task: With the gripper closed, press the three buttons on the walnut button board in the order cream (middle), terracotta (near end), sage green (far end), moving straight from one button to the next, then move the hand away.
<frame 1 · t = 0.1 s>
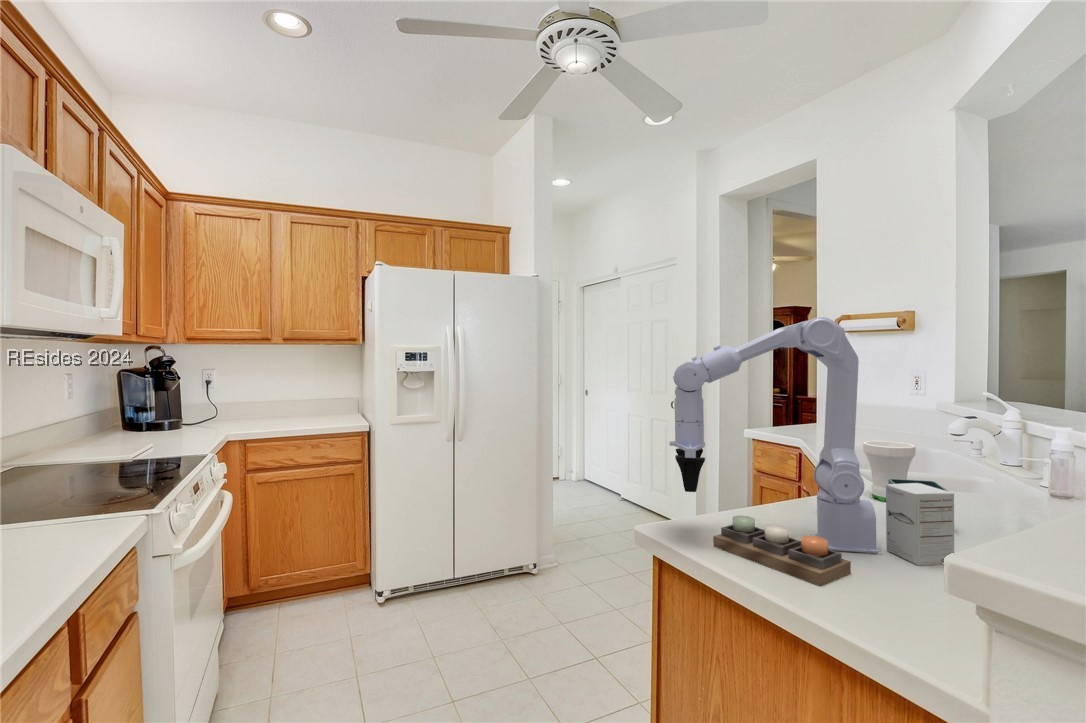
hand: (690, 486, 105), 10 cm above the counter, tool pointing down, fingers open, 7 cm apart
terracotta button: (814, 545, 86), point 5 cm above the counter, slide at 0.0 cm
sage button: (743, 523, 98), point 5 cm above the counter, slide at 0.0 cm
cream button: (776, 533, 92), point 5 cm above the counter, slide at 0.0 cm
button board: (777, 558, 92), on the counter
supplement box: (919, 558, 92), on the counter
flower pot: (917, 526, 110), on the counter
cup: (889, 500, 131), on the counter
beer can: (834, 516, 117), on the counter
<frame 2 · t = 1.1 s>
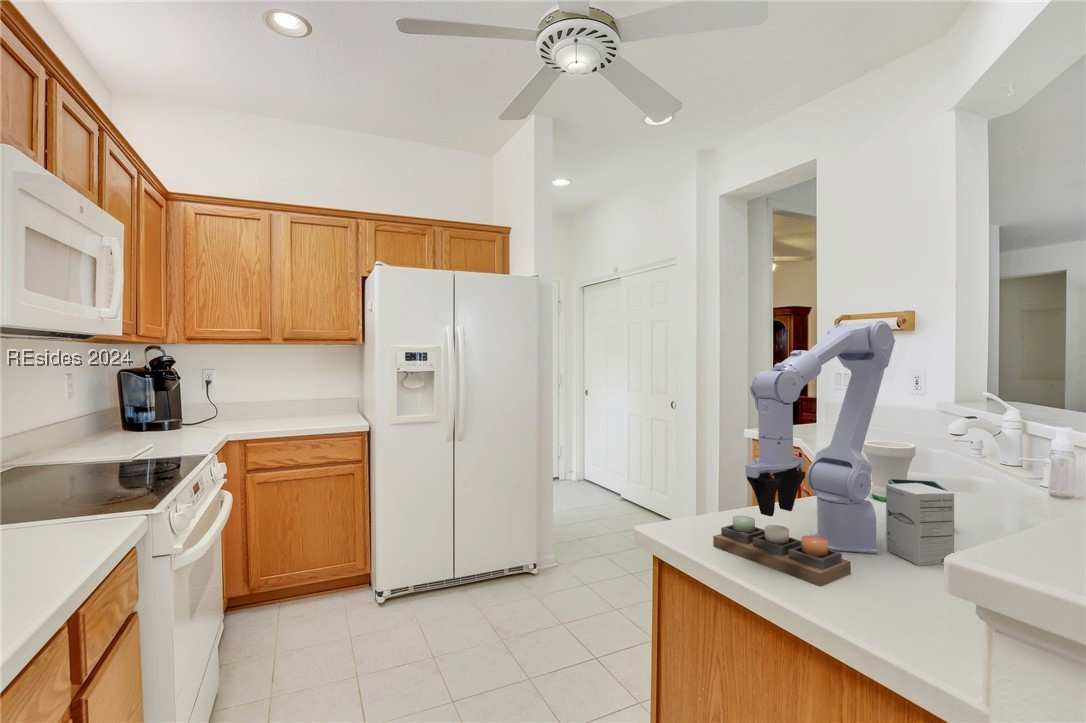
hand: (776, 512, 92), 8 cm above the counter, tool pointing down, fingers open, 5 cm apart
nothing on the counter moved.
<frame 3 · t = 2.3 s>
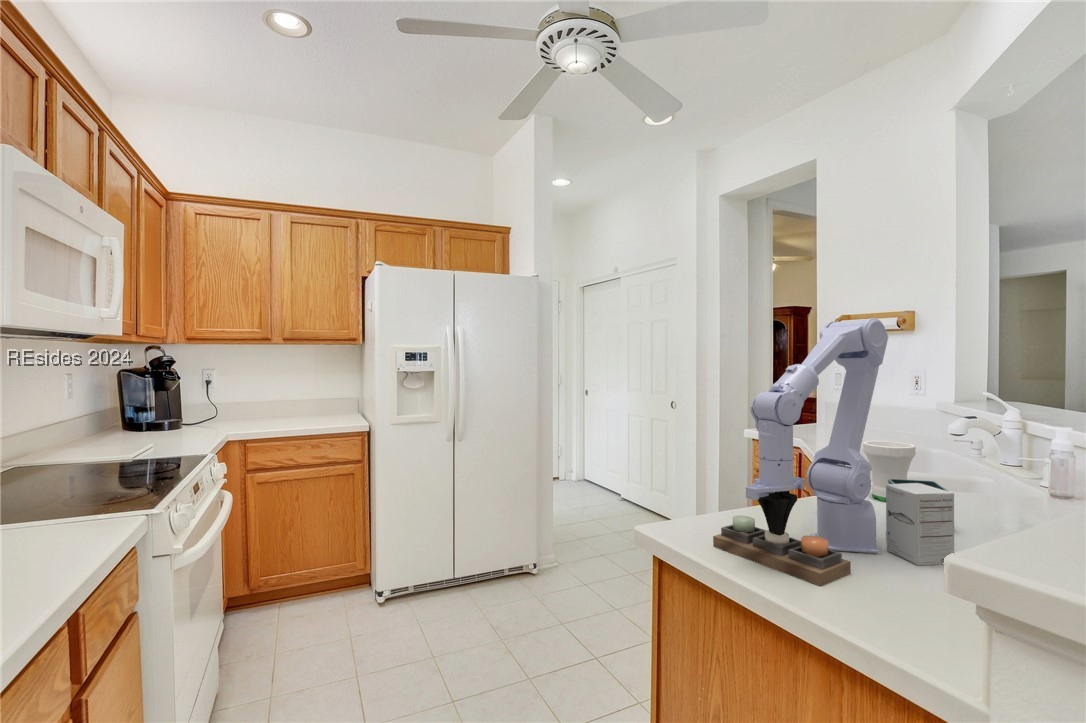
hand: (776, 533, 92), 5 cm above the counter, tool pointing down, fingers closed, pressing on cream button
cream button: (776, 538, 92), point 4 cm above the counter, slide at 0.9 cm, touching gripper
everything else where it was.
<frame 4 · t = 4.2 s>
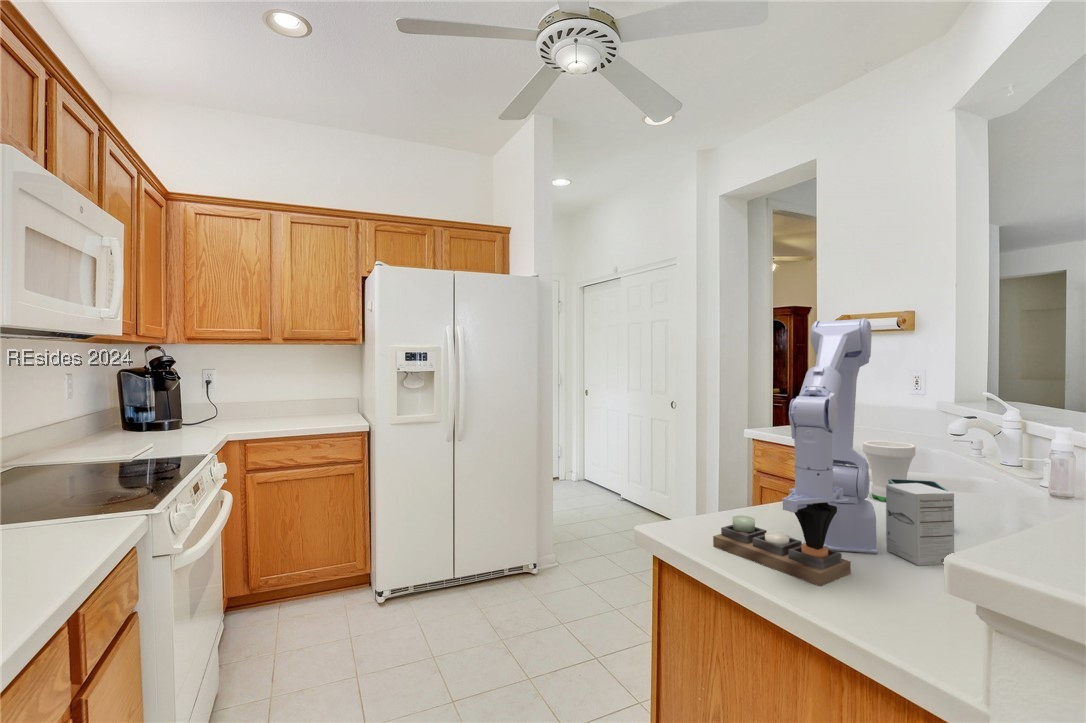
hand: (814, 547, 86), 4 cm above the counter, tool pointing down, fingers closed, pressing on terracotta button
terracotta button: (814, 553, 86), point 3 cm above the counter, slide at 1.3 cm, touching gripper
cream button: (776, 541, 92), point 3 cm above the counter, slide at 1.3 cm
everything else where it was.
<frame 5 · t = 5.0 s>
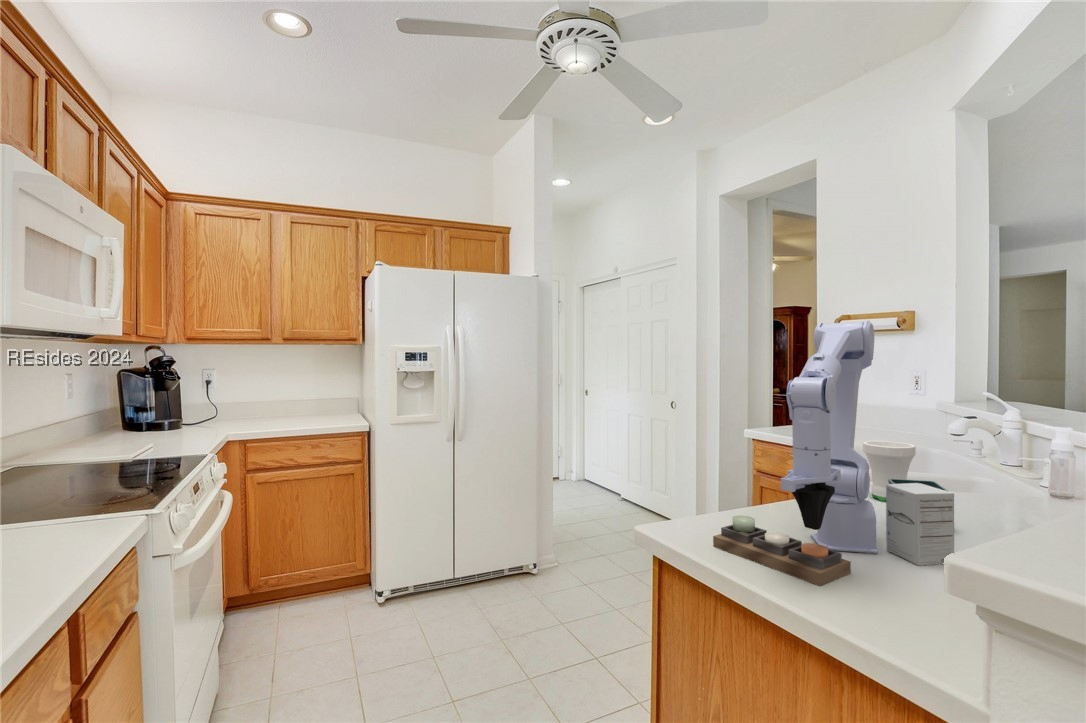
hand: (812, 527, 87), 7 cm above the counter, tool pointing down, fingers closed
terracotta button: (814, 553, 86), point 3 cm above the counter, slide at 1.3 cm
everything else where it was.
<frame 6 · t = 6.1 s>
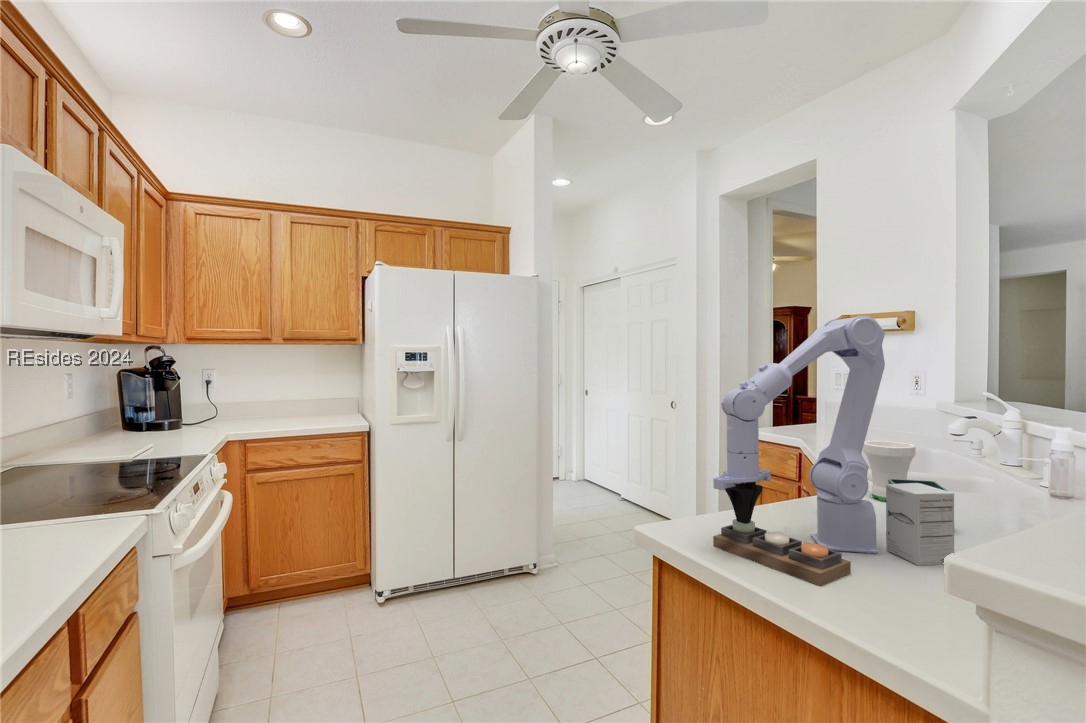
hand: (743, 522, 98), 5 cm above the counter, tool pointing down, fingers closed, pressing on sage button
sage button: (743, 527, 98), point 4 cm above the counter, slide at 0.7 cm, touching gripper
everything else where it was.
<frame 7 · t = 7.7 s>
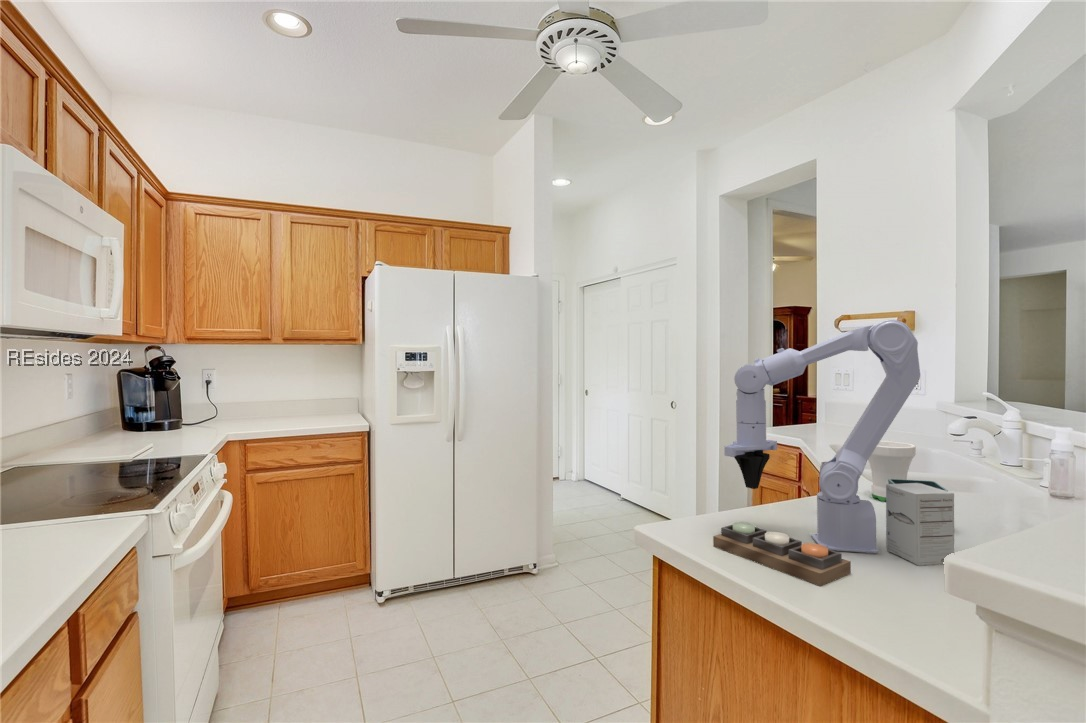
hand: (751, 487, 106), 9 cm above the counter, tool pointing down, fingers closed
sage button: (743, 530, 98), point 3 cm above the counter, slide at 1.3 cm
everything else where it was.
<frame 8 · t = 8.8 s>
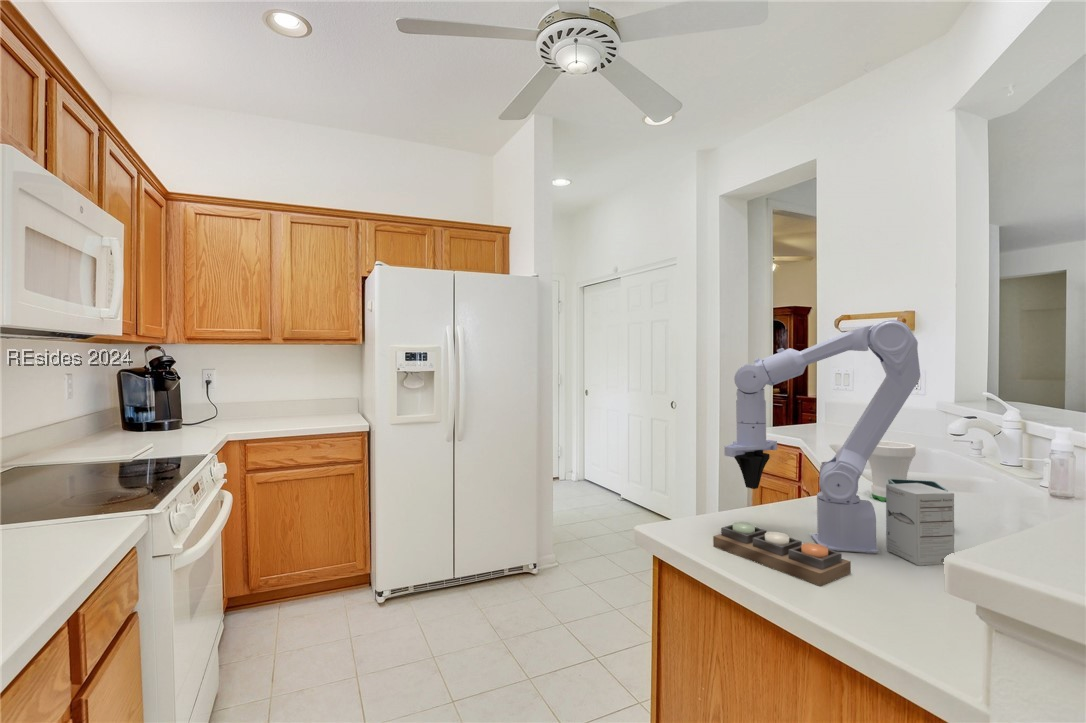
hand: (751, 487, 106), 9 cm above the counter, tool pointing down, fingers closed
nothing on the counter moved.
at the end: cream button slide at 1.3 cm; terracotta button slide at 1.3 cm; sage button slide at 1.3 cm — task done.
